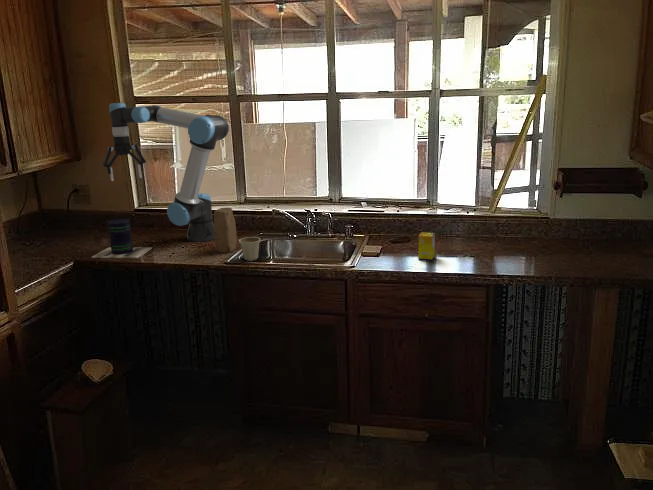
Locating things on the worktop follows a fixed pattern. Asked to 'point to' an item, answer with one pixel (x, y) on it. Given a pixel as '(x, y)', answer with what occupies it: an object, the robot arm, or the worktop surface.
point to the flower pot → (250, 247)
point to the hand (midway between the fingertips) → (126, 179)
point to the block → (225, 230)
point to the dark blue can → (120, 236)
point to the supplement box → (426, 246)
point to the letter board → (135, 254)
